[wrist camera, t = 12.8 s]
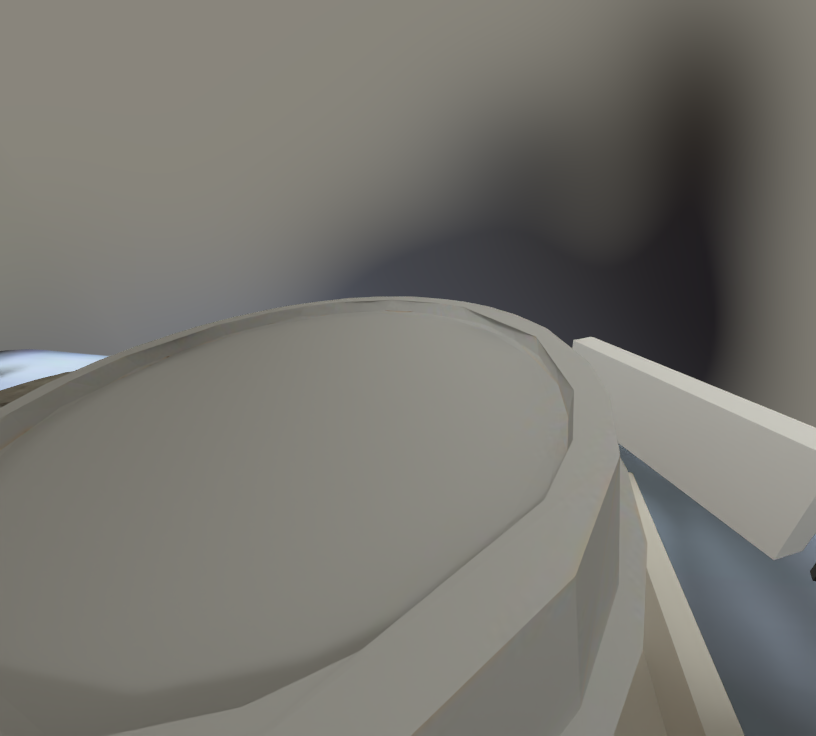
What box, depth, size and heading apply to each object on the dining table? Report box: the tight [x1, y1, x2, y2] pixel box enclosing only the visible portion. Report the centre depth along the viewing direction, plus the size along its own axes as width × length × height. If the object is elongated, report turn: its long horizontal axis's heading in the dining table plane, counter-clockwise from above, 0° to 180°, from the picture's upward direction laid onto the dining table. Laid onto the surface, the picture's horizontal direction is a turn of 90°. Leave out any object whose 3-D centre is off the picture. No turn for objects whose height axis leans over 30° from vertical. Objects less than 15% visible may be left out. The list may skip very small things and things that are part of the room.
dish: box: [613, 472, 745, 736], centre depth 11 cm, size 15×15×3 cm
